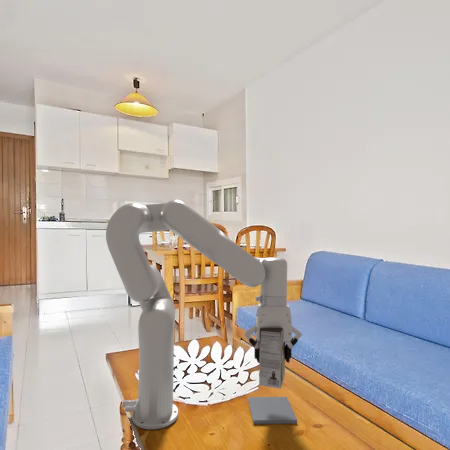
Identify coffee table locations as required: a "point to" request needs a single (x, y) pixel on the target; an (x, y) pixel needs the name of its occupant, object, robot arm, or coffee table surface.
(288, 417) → the slate tile
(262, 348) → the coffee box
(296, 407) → the coffee table surface
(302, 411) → the coffee table surface
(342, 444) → the coffee table surface
